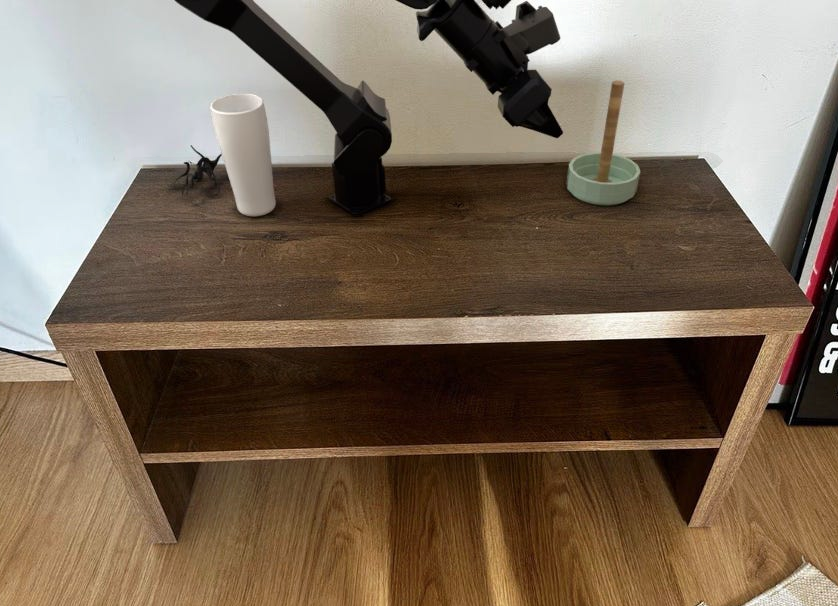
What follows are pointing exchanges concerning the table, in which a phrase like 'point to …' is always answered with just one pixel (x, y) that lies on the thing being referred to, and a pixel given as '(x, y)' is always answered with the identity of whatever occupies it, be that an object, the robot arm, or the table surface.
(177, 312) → the table surface
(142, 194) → the table surface
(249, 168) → the drinking glass
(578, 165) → the bowl
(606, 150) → the stick
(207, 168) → the creature
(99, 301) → the table surface
